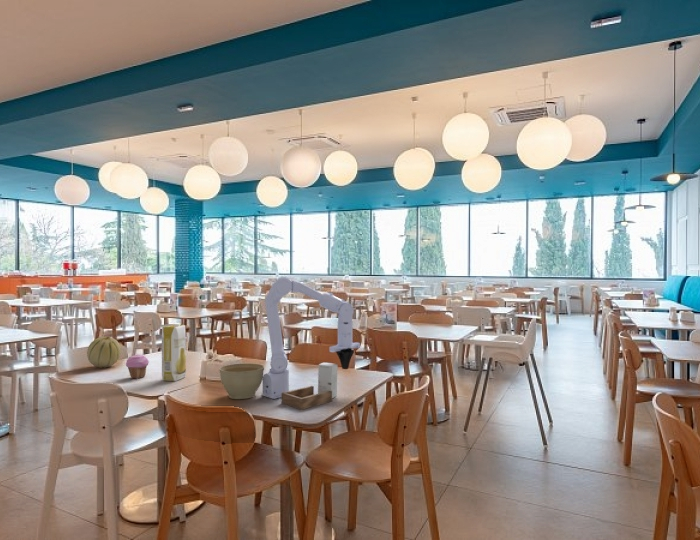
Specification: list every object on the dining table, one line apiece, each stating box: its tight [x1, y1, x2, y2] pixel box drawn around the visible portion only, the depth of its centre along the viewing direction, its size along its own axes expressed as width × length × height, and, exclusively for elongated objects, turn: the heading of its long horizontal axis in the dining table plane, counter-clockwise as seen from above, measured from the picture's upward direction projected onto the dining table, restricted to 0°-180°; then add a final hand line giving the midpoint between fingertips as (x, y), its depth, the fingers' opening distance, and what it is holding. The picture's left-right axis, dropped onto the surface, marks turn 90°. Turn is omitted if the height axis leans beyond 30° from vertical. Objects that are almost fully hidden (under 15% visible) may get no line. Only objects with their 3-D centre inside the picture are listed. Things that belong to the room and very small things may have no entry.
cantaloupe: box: [86, 335, 122, 368], centre depth 226 cm, size 15×15×15 cm
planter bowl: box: [219, 362, 265, 400], centre depth 175 cm, size 16×16×11 cm
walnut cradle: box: [281, 385, 333, 410], centre depth 167 cm, size 14×11×4 cm
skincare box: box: [317, 362, 338, 399], centre depth 174 cm, size 6×4×12 cm
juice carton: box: [161, 322, 187, 382], centre depth 202 cm, size 9×8×24 cm
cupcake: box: [125, 354, 150, 379], centre depth 205 cm, size 9×9×10 cm
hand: (345, 368), depth 181 cm, fingers closed
